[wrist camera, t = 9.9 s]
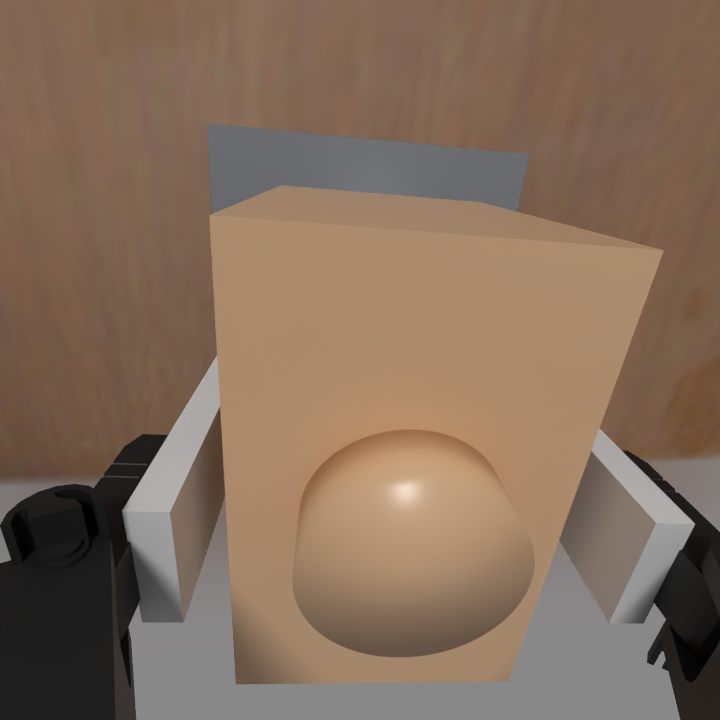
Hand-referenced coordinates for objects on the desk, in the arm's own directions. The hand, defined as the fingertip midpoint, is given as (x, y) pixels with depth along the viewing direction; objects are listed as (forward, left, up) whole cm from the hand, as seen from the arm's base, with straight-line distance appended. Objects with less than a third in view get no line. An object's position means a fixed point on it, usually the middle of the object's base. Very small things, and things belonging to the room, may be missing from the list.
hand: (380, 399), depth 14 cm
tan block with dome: (0, 0, -5) cm, 5 cm away
